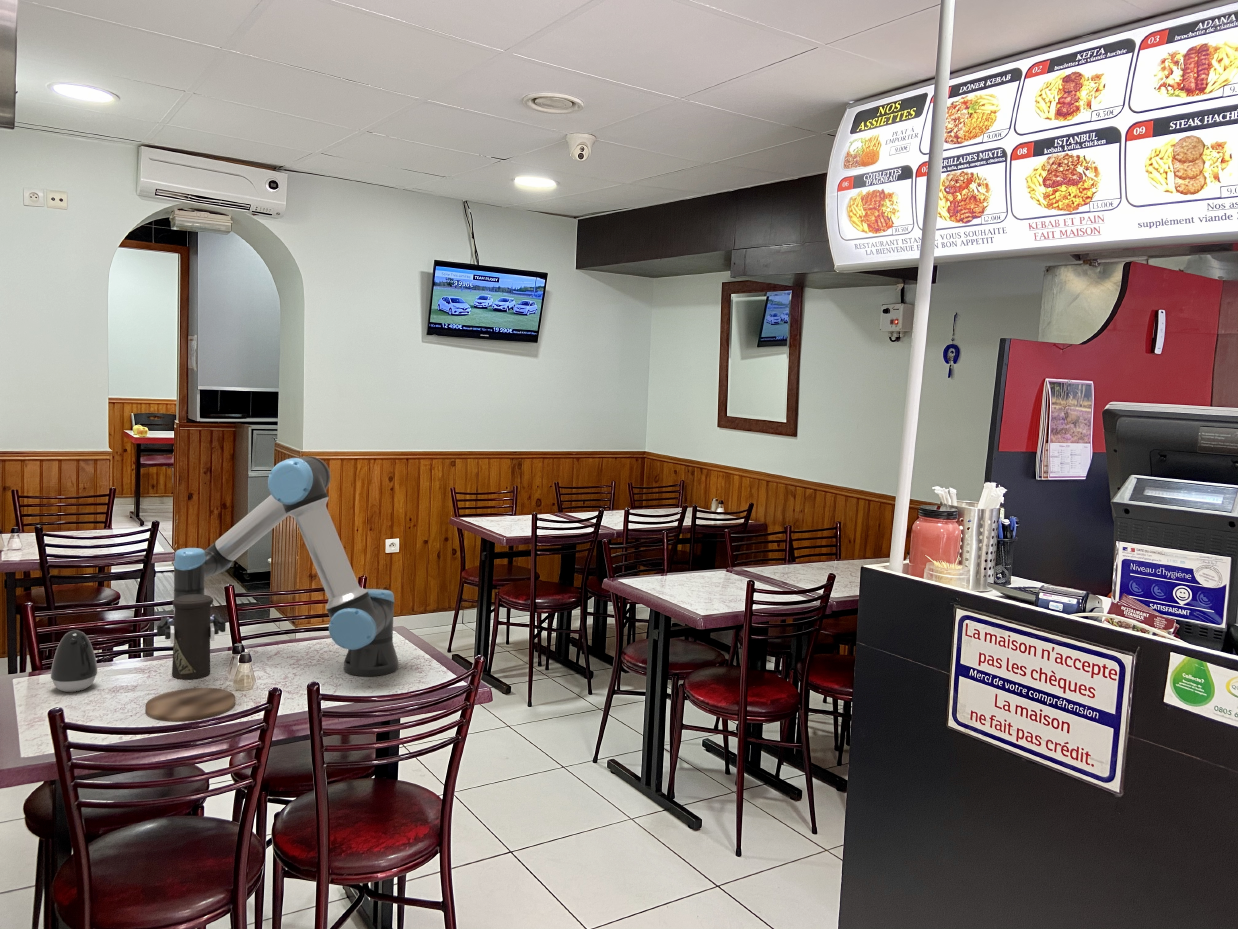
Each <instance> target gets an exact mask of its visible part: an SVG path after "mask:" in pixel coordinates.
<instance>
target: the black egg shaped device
mask: <svg viewBox="0 0 1238 929" xmlns="http://www.w3.org/2000/svg"><path fill="white" fill-rule="evenodd" d="M97 674H98V664H97V658H96V655H95V651H94V648H93V645H92V643H91V641H90V638H89V637H88V636H87V634H85V632H83V631H81V630H77V629H76V630H70V631H68V632H66V633H65V634H64V635H63V637H62V638H61V640H60V642H59V643H58V646H57V647H56V650H55V654H54V656H53V661H52V665H51V670H50V679H51V680H52V682H53V685H54V686H55V687H56V689H57V690H59V691H61V692H63V693H64V692H65V693H77V692H80V690H81V691H84V690H86V689H87V688H89V687H90V686H92V684H93V683H94V681H95V679H96V677H97ZM76 691H77V692H76Z"/></svg>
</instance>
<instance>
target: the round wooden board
mask: <svg viewBox="0 0 1238 929" xmlns="http://www.w3.org/2000/svg"><path fill="white" fill-rule="evenodd" d="M235 706H236V694H234V693H233V692H232V691H230V690H227V689H223V688H215V687H192V688H183V689H182V688H181V689H176V690H172V691H171V690H170V691H167V692H163V693H161V694H158V695H156V696H154V697H152V698H150V699H148V700H147V701H146V703H145V709H144V710H145V712H144V713H145V715H146V716H147V717H149V718H150V719H151V718H152V719H153V720H157V721H164V722H191V721H192V722H193V721H199V720H205V719H210V718H213V717H217V716H221V715H223V714H224V713H227V712H229V711H231V710H232V709H233V708H234V707H235Z"/></svg>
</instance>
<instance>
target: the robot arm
mask: <svg viewBox="0 0 1238 929" xmlns="http://www.w3.org/2000/svg"><path fill="white" fill-rule="evenodd" d="M331 477H332V475H331V471H330V469H329V466H328V465H327V464H326V462H324V460H322V459H320V458H319V457H317V456H310V455H309V456H301V457H290V458H287V459H285V460H282V461H280V462H278V463H277V464H276V465H275V466H274V467H273V468H272V469H271V471H270V472H269V475H268V478H267V487H268V491H269V493H270V495H269V496H268V497H267V498H266V499H264V500H263V501H262V502H260V504H258V505H256V507H254V508H253V509H252V510H251V511H250V512H249V513H247V514H246V515H245V516H244V517H243V518H242V519H240V520H239V521H238V522H237V523H236V524H234V526H232V527H231V528H230V529H228V531H226V532H224V533H223V535H221V536H220V537H219V538H218V539H216V541H214V542H213V543H212V544H210V546H208V547H207V548H206V549H202V548H200V547H198V548H197V547H186V548H180V549H177V550H176V551H175V553H174V561H173V600H174V599H176V598H177V597H179V596H183V595H191V594H201V595H205V582H206V580H205V579H208V578H210V577H213V576H216V575H219V574H222V573H224V572H225V571H226V570H228V569H229V568H230V567H231V566H232V564H233V562H234V561H235V560H236V559H238V558H239V557H240V556H242V554H244V553H245V552H246V551H247V550H248V549H249V548H251V547H253V545H255V544H256V543H257V542H258V541H260V540H261V539H262V537H264V536H266V535H267V534H268V533H269V532H271V531H272V530H273V529H274V528H276V526H277V525H279V524H280V523H281V522H282V521H283V520H285V519H286V518H287V517H288V516H290V517H292V518H293V519H294V520H295V522H296V525H297V526H298V529H299V531H300V534H301V536H302V540H303V542H304V544H305V547H306V549H307V550H308V552H309V555H310V558H311V561H312V563H313V565H314V568H315V570H316V572H317V575H318V577H319V579H320V582H321V585H322V587H323V589H324V591H325V594H326V596H327V599H328V601H327V604H326V606H325V609H326V612H327V614H328V616H329V619H330V620H329V623H328V634H329V636H330V637H331V640H332V641H333V642H334V643H335V645H337V646H338V647H340V648H343V649H345V650H347V652H346V655H345V658H344V660H343V671H344V672H345V673H347V674H350V675H352V676H358V677H359V676H360V677H377V676H385V675H389V674H392V673H394V672H396V671H397V670H398V669H399V658H398V656H397V652H396V649H395V645H394V642H393V641H394V640H393V637H394V636H393V634H394V610H395V609H394V608H395V595H394V593H393V592H392V591H391V590H387V589H380V588H379V589H377V588H371V589H370V588H363V587H361V585H360V584H359V581H358V580H357V577H356V575H355V572H354V571H353V568H352V566H351V563H350V561H349V558H348V556H347V554H346V551H345V548H344V547H343V544H342V542H341V540H340V537H339V534H338V532H337V530H336V526H335V524H334V522H333V520H332V517H331V515H330V513H329V510H328V507H327V503H328V501H329V495H328V492H327V490H328V488H329V486H330V483H331V480H332V478H331ZM172 609H173V617H171V618H170V617H167V616H161V617H160V621H159V622H158V624H157V625H156V637H162V636H164V639H165V640H170V645H173V644H174V619H175V607H174V605H173V604H172ZM226 623H227V622H226V620H224V619H223V618H222V617H221V615H220V613H217V612H216V613H214V614H212V615H211V616H210V642H213V641H215V635H219V632H221V633H226V628H227V627H226V625H227V624H226Z"/></svg>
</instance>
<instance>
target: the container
mask: <svg viewBox="0 0 1238 929" xmlns="http://www.w3.org/2000/svg"><path fill="white" fill-rule="evenodd" d="M213 603H214V598H213V597H211V595H208V594H204V595H201V594H191V595H183V596H179V597H177V598H176V599H174V598H173V600H172V606H173V605H174V607H175V619H174V644H172V645H173V648H172V665H171V677H172V678H173V679H175V680H180V681H195V680H201V679H204V678H207V677H209V676H210V675H211V639H210V617H211V606H212V604H213Z"/></svg>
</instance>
